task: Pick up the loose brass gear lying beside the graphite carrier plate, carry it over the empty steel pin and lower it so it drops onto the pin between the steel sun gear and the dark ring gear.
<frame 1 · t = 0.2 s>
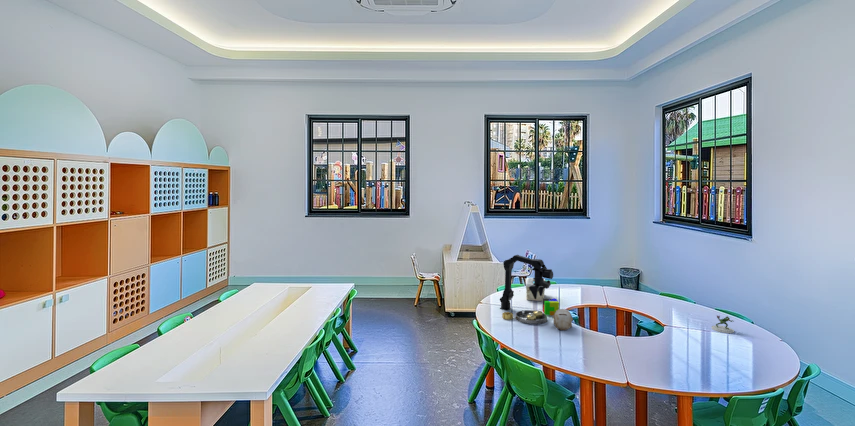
hand: (538, 297, 287), 14 cm above the table, fingers open, 9 cm apart
monster figurine: (722, 330, 258), on the table
puzzle toy: (550, 313, 295), on the table
coin bank: (562, 327, 267), on the table
storage basket: (535, 297, 336), on the table
carrier: (530, 318, 283), on the table
planet gear: (507, 318, 285), on the table
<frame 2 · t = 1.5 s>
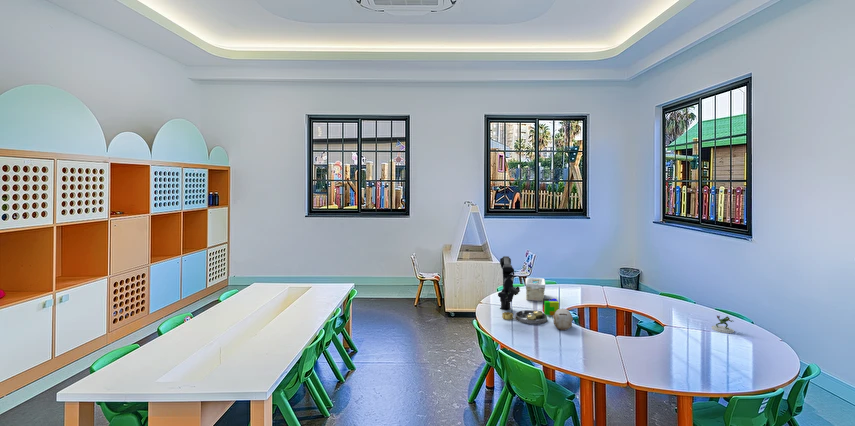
hand: (507, 303, 284), 11 cm above the table, fingers open, 9 cm apart
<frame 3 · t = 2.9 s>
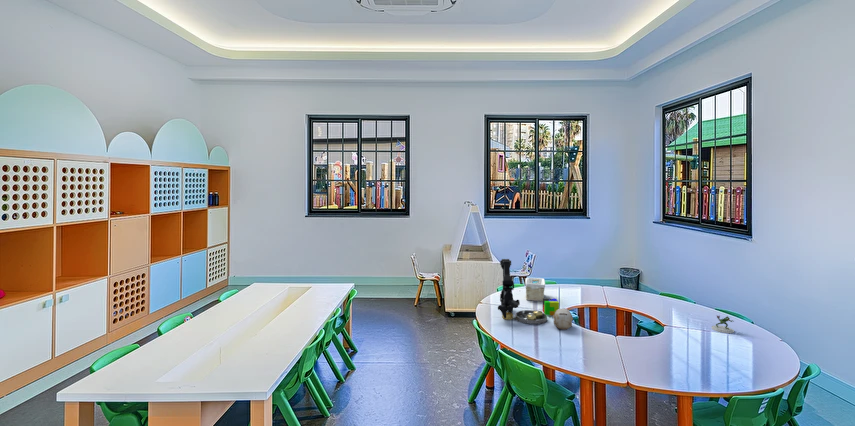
hand: (507, 316, 285), 1 cm above the table, fingers closed on planet gear, 7 cm apart
planet gear: (507, 318, 285), on the table, touching gripper
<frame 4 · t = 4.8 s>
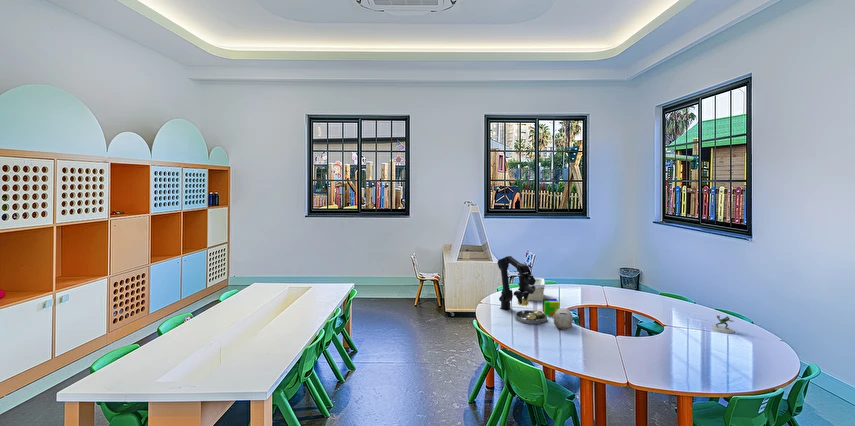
hand: (523, 302, 286), 11 cm above the table, fingers closed on planet gear, 7 cm apart
planet gear: (523, 304, 286), point 10 cm above the table, touching gripper
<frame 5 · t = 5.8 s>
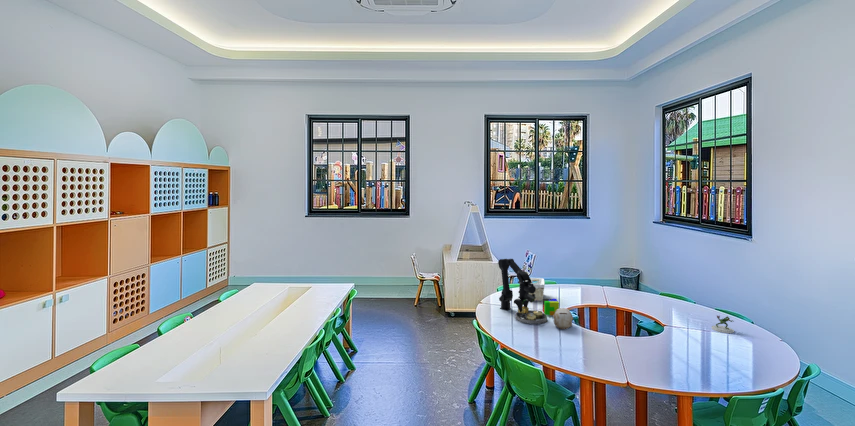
hand: (523, 310, 287), 5 cm above the table, fingers closed on planet gear, 7 cm apart
planet gear: (523, 312, 287), point 4 cm above the table, touching gripper
when the fingers open (3 cm above the table, at t = 6.8 s): planet gear stays where it is, resting on carrier.
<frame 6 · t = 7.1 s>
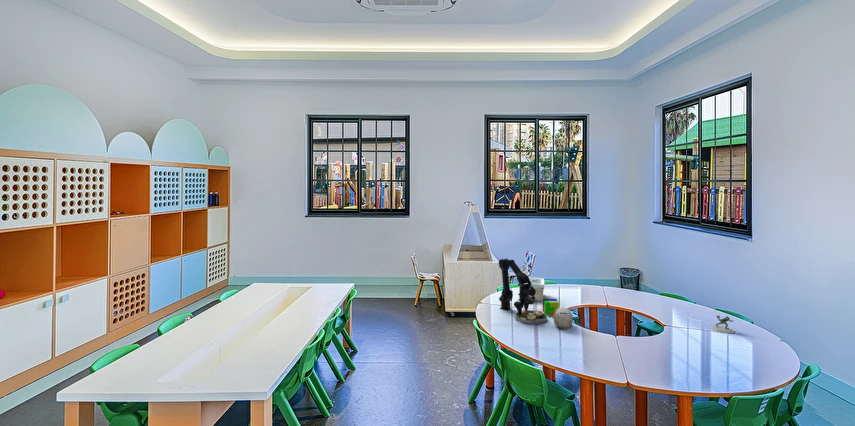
hand: (523, 313, 287), 3 cm above the table, fingers open, 9 cm apart
planet gear: (523, 315, 287), point 1 cm above the table, touching carrier
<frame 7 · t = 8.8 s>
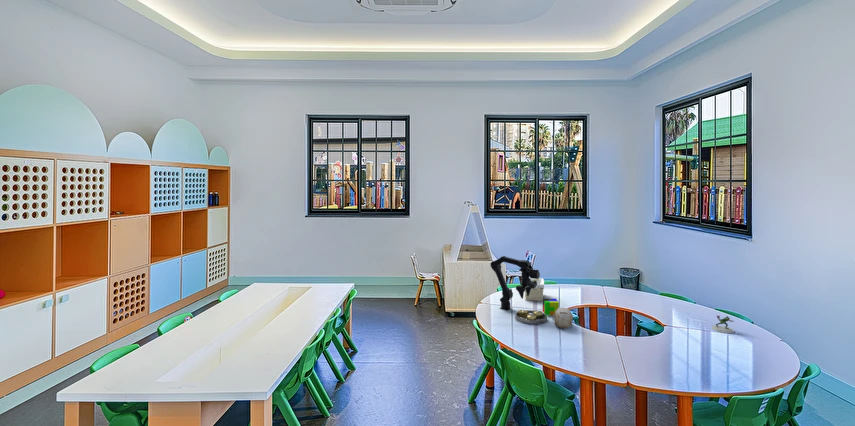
hand: (525, 297, 296), 12 cm above the table, fingers open, 9 cm apart
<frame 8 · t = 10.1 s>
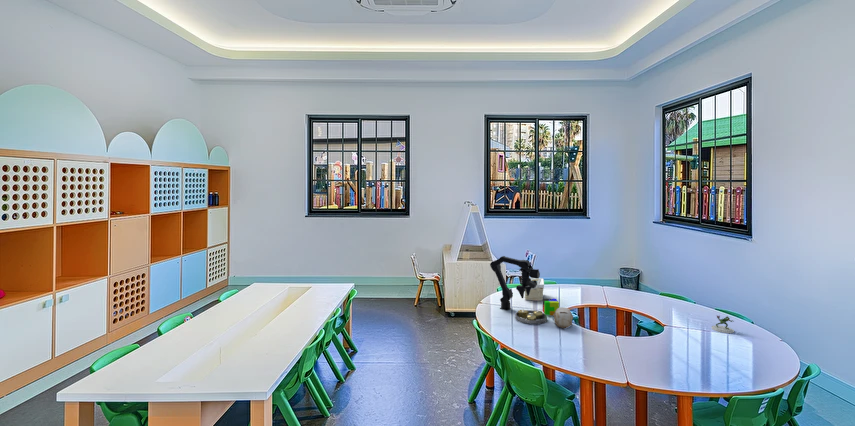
hand: (525, 296, 297), 12 cm above the table, fingers open, 9 cm apart
at the end: planet gear 0.1 cm from the target spot on the carrier, point 1.0 cm above the carrier's base; planet gear tilted 0°; the gripper is holding nothing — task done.
